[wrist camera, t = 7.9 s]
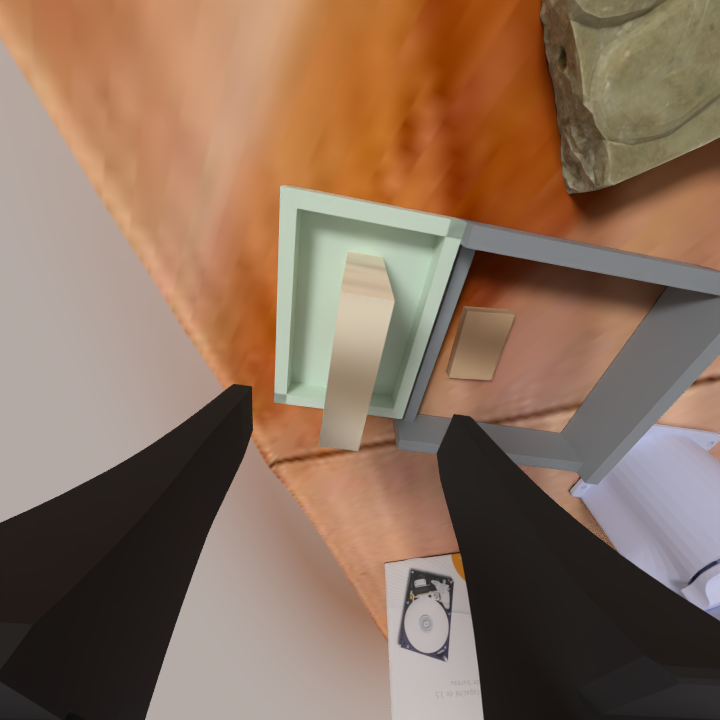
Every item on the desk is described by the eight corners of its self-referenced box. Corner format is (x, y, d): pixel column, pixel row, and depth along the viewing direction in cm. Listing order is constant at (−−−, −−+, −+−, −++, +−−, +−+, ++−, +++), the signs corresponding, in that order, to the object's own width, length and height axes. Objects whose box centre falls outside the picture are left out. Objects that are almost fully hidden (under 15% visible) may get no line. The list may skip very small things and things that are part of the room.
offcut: (486, 373, 22) (491, 380, 21) (446, 371, 21) (448, 377, 21) (509, 309, 19) (515, 314, 18) (463, 306, 19) (467, 310, 18)
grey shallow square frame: (565, 443, 25) (597, 484, 22) (392, 420, 24) (398, 460, 20) (700, 265, 17) (782, 287, 14) (455, 217, 16) (481, 228, 13)
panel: (359, 373, 21) (358, 451, 15) (330, 369, 21) (318, 446, 15) (382, 257, 17) (394, 301, 11) (347, 251, 17) (340, 292, 11)
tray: (398, 401, 23) (401, 419, 21) (280, 384, 22) (274, 402, 20) (455, 217, 16) (467, 222, 14) (289, 184, 15) (280, 185, 14)
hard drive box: (514, 541, 33) (672, 916, 16) (516, 572, 37) (647, 903, 20) (381, 561, 36) (399, 906, 19) (396, 588, 40) (423, 895, 23)
